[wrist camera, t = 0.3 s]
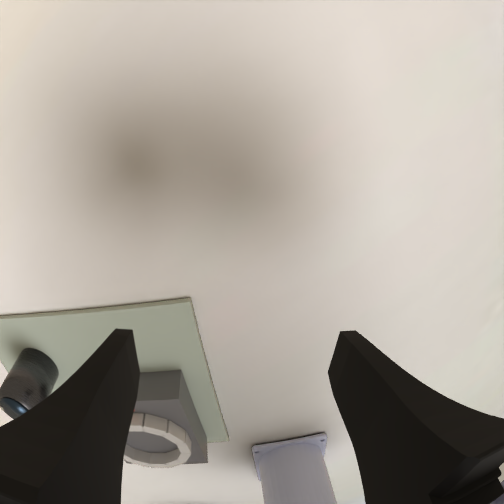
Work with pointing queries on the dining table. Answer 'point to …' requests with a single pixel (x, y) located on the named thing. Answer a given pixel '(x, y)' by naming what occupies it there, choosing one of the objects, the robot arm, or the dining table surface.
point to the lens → (28, 382)
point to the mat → (146, 341)
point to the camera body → (165, 423)
